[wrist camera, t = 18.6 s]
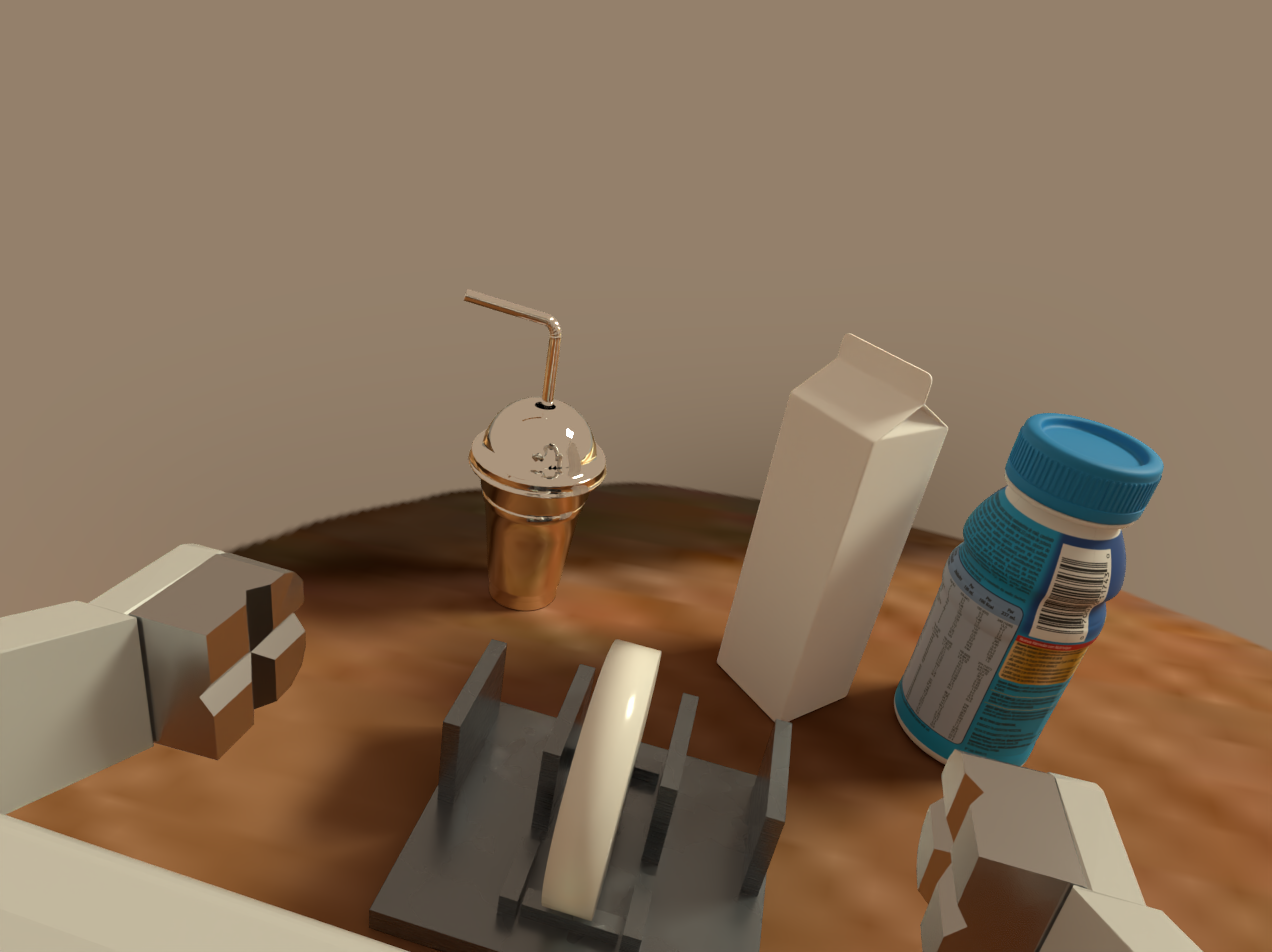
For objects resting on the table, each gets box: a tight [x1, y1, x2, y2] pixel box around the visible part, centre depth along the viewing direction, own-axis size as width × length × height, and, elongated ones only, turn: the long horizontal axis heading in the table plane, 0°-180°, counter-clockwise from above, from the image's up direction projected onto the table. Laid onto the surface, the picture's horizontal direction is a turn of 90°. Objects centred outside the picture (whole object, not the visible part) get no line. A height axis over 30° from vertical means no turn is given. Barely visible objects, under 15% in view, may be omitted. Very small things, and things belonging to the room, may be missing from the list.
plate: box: [541, 639, 661, 921], centre depth 36 cm, size 2×11×11 cm, turn 168°
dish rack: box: [369, 639, 792, 952], centre depth 39 cm, size 16×13×6 cm
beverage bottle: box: [894, 413, 1164, 766], centre depth 47 cm, size 8×8×20 cm
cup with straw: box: [464, 289, 607, 611], centre depth 52 cm, size 8×9×20 cm
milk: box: [717, 333, 948, 722], centre depth 48 cm, size 6×6×22 cm
